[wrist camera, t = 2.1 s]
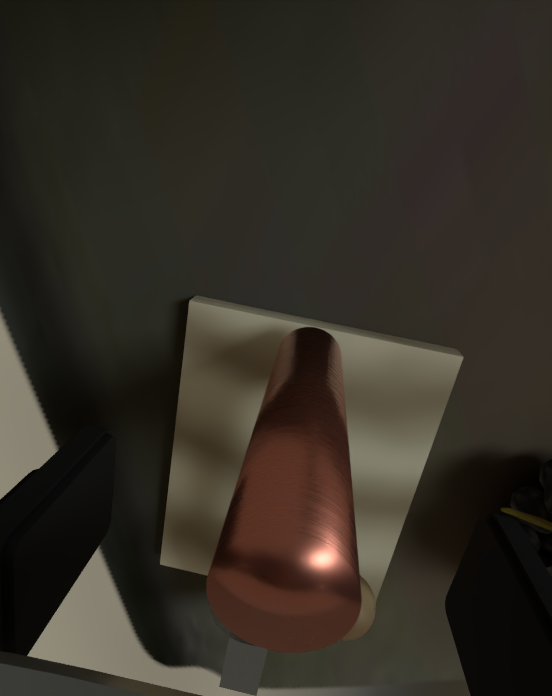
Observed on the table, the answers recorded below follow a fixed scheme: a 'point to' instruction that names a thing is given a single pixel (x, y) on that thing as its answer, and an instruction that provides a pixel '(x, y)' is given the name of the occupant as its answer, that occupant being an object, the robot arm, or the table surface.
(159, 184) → the table surface
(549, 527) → the fruit
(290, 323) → the board
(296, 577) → the lever
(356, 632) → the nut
